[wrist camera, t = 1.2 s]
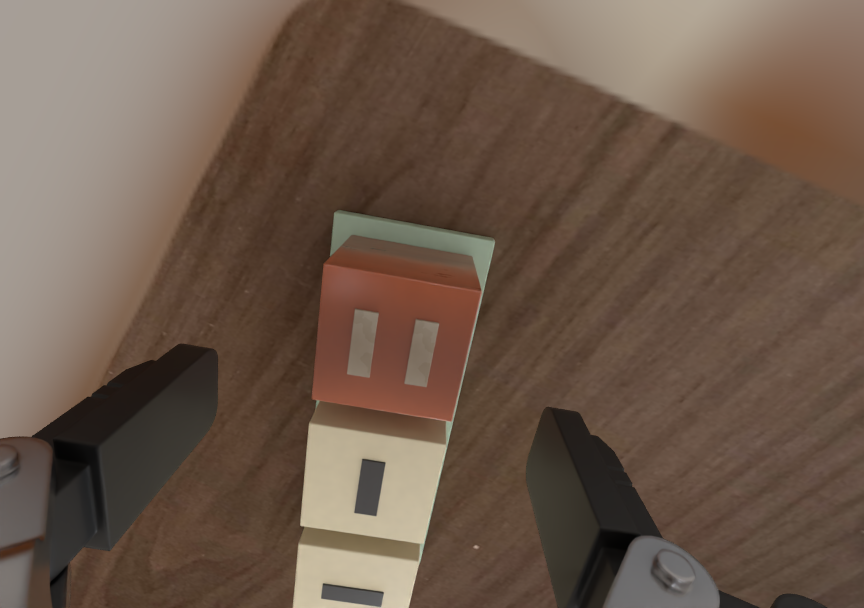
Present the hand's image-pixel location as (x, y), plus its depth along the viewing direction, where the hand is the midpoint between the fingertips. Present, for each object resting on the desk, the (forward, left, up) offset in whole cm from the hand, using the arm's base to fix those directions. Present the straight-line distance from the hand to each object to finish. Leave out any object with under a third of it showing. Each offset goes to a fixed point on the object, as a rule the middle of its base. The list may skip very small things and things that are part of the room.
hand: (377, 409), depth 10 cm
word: (+5, 0, -7) cm, 9 cm away
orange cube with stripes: (0, 0, -7) cm, 7 cm away
